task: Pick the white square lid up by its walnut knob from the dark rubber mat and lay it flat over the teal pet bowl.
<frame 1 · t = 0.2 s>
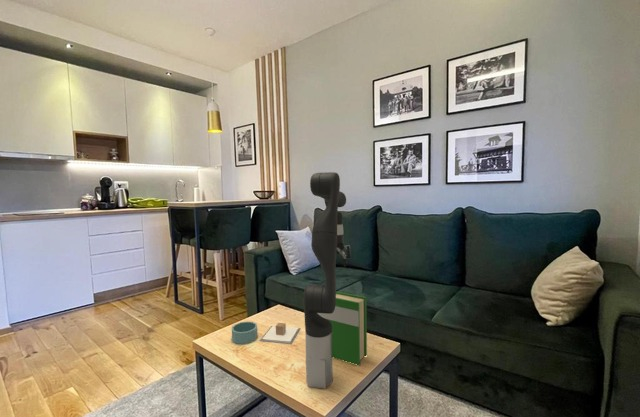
hand: (336, 265, 143), 29 cm above the table, tool pointing down, fingers open, 8 cm apart
rubber mat: (280, 335, 133), on the table
teal pet bowl: (244, 338, 130), on the table
white square lid: (280, 334, 133), resting on rubber mat
hardback book: (342, 355, 116), on the table
candle holder: (317, 333, 135), on the table
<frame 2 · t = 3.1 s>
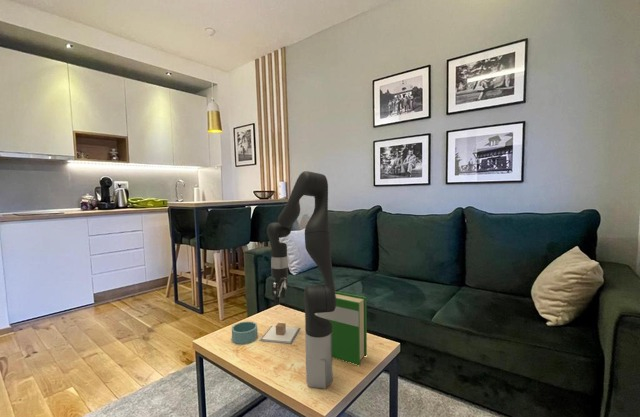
hand: (280, 300, 133), 16 cm above the table, tool pointing down, fingers open, 8 cm apart
nothing on the table moved.
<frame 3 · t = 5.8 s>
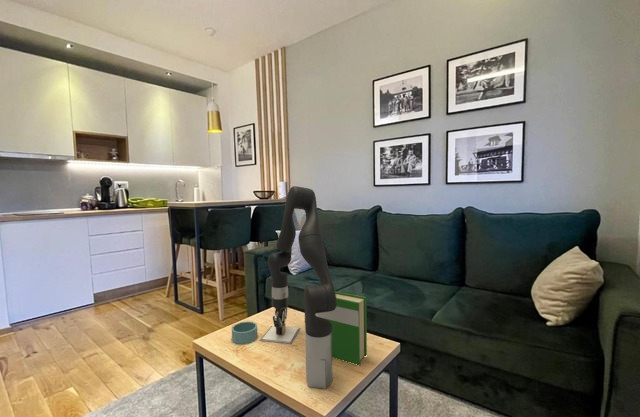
hand: (280, 332, 133), 1 cm above the table, tool pointing down, fingers closed on white square lid, 3 cm apart
white square lid: (280, 334, 133), resting on rubber mat, touching gripper
everything else where it was.
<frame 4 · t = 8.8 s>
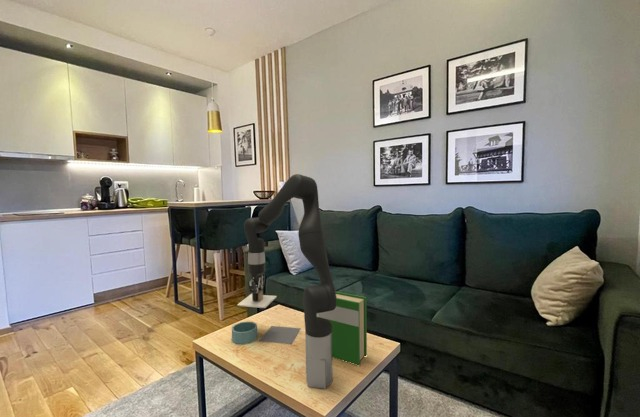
hand: (257, 299, 131), 18 cm above the table, tool pointing down, fingers closed on white square lid, 3 cm apart
white square lid: (257, 301, 131), point 16 cm above the table, touching gripper
everything else where it was.
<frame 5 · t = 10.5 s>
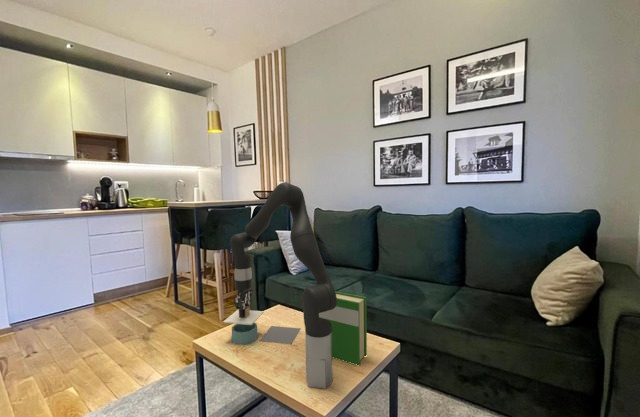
hand: (244, 315, 130), 11 cm above the table, tool pointing down, fingers closed on white square lid, 3 cm apart
white square lid: (244, 317, 130), point 10 cm above the table, touching gripper
everything else where it was.
when the fingers open (7 cm above the table, at t = 11.9 s): white square lid stays where it is, resting on teal pet bowl.
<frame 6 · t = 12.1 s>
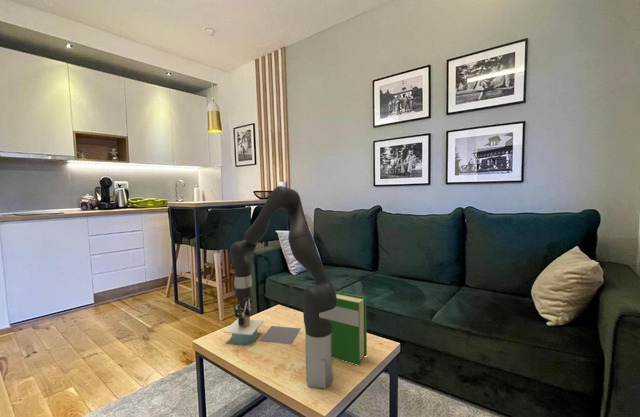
hand: (244, 322, 130), 8 cm above the table, tool pointing down, fingers open, 5 cm apart
white square lid: (244, 327, 130), point 5 cm above the table, touching teal pet bowl
everything else where it was.
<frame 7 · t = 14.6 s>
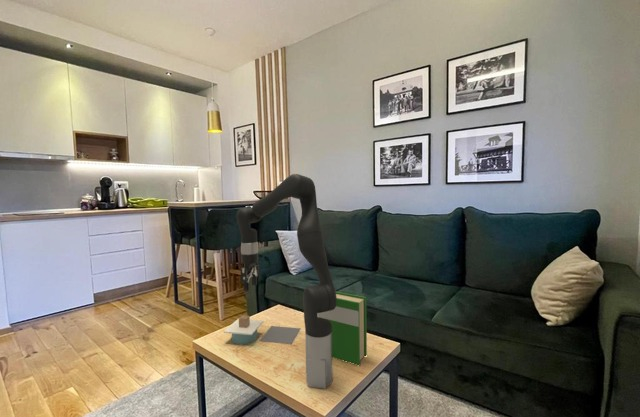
hand: (250, 287, 130), 23 cm above the table, tool pointing down, fingers open, 8 cm apart
nothing on the table moved.
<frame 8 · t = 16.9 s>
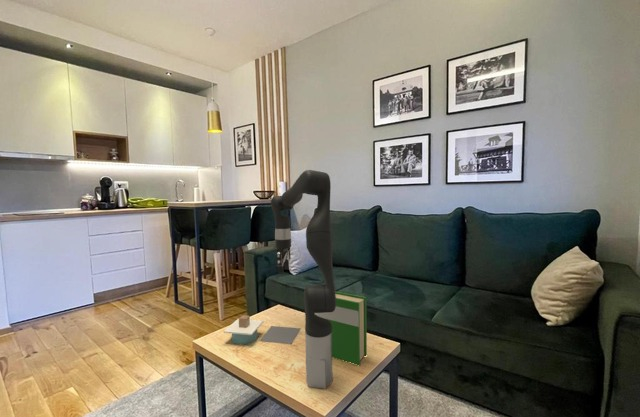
hand: (283, 271, 138), 28 cm above the table, tool pointing down, fingers open, 8 cm apart
nothing on the table moved.
at the end: white square lid 0.1 cm off-centre on the teal pet bowl, point 5.5 cm above the teal pet bowl's base; white square lid tilted 0°; the gripper is holding nothing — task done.
